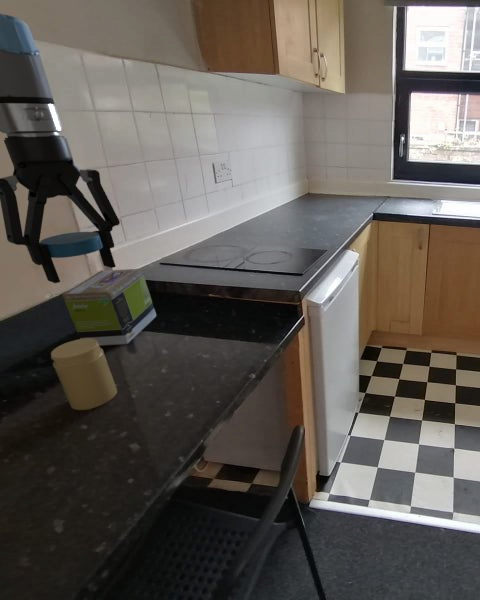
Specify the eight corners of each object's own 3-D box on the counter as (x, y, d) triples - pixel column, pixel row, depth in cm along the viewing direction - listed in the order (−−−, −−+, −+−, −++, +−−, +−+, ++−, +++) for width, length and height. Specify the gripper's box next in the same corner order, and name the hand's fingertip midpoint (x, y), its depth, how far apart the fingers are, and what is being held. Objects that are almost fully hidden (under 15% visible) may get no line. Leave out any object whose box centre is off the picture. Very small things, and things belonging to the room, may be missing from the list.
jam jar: (62, 413, 72) (39, 361, 68) (80, 389, 79) (60, 340, 74) (109, 406, 74) (89, 355, 70) (123, 383, 81) (106, 335, 76)
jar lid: (111, 242, 74) (107, 230, 73) (91, 255, 67) (87, 242, 66) (60, 245, 72) (55, 233, 71) (34, 259, 65) (29, 245, 64)
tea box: (119, 322, 105) (101, 268, 99) (159, 320, 106) (144, 267, 100) (83, 352, 91) (59, 292, 85) (129, 350, 92) (109, 290, 86)
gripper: (-52, 138, 52) (18, 298, 61) (119, 133, 68) (153, 260, 78) (-70, 137, 56) (-1, 289, 65) (96, 132, 72) (132, 254, 81)
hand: (83, 273), depth 71 cm, fingers closed on jar lid, 8 cm apart
